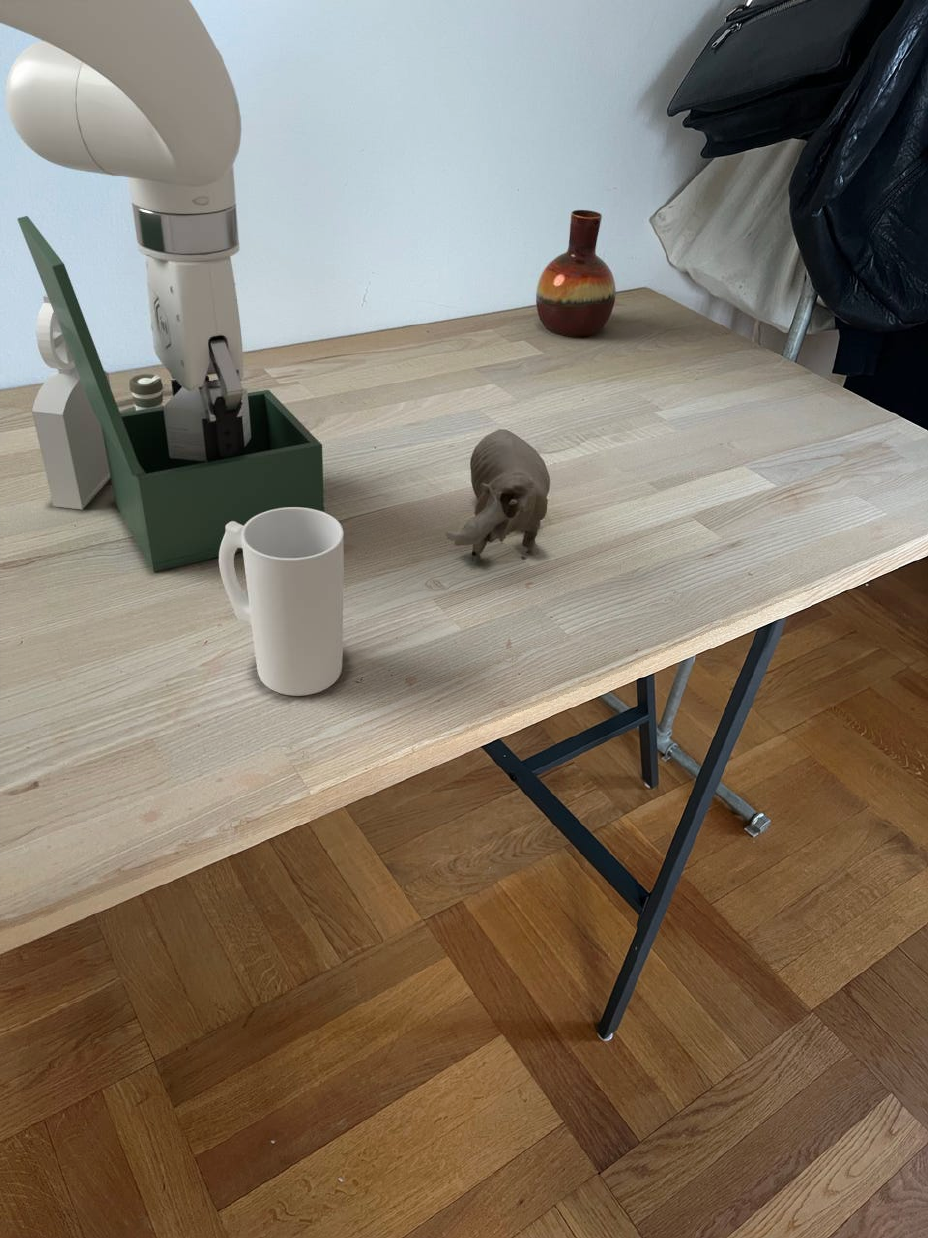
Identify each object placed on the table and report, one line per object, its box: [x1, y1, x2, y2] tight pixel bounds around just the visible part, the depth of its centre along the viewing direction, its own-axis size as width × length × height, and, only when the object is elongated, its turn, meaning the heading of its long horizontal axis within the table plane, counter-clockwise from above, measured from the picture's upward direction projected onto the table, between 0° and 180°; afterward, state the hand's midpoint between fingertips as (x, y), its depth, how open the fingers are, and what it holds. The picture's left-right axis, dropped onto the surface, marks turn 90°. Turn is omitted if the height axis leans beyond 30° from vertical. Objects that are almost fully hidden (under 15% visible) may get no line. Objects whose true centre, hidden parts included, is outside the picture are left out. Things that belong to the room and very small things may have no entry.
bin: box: [101, 389, 325, 573], centre depth 83 cm, size 16×13×9 cm
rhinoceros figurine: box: [444, 428, 551, 567], centre depth 83 cm, size 8×14×15 cm
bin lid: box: [17, 215, 142, 476], centre depth 71 cm, size 16×13×1 cm
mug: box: [218, 507, 345, 697], centre depth 66 cm, size 10×7×12 cm, turn 62°
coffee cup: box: [119, 373, 164, 413], centre depth 99 cm, size 12×12×5 cm
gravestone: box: [31, 293, 112, 511], centre depth 84 cm, size 3×9×18 cm, turn 174°
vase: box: [535, 209, 617, 338], centre depth 128 cm, size 11×11×15 cm
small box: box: [163, 387, 251, 462], centre depth 80 cm, size 6×6×5 cm
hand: (210, 439), depth 81 cm, fingers closed on small box, 7 cm apart
